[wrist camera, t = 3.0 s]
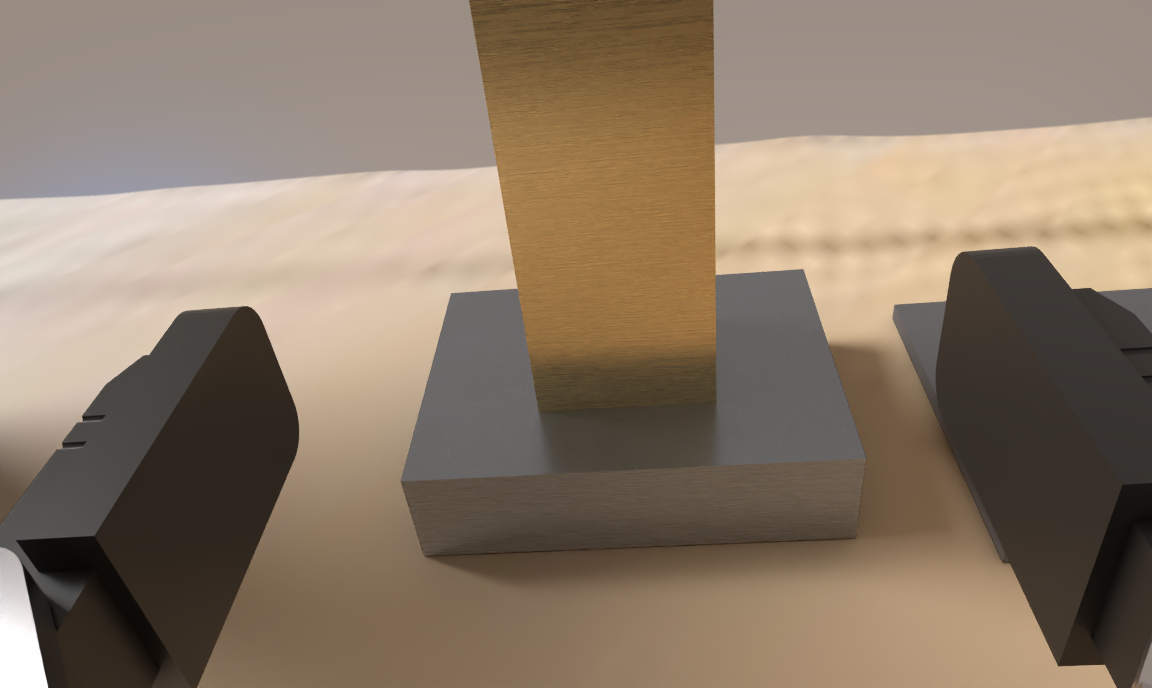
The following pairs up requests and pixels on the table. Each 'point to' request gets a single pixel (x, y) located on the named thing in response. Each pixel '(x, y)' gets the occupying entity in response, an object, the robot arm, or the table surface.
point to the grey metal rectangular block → (636, 439)
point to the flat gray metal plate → (922, 345)
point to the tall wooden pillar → (607, 192)
